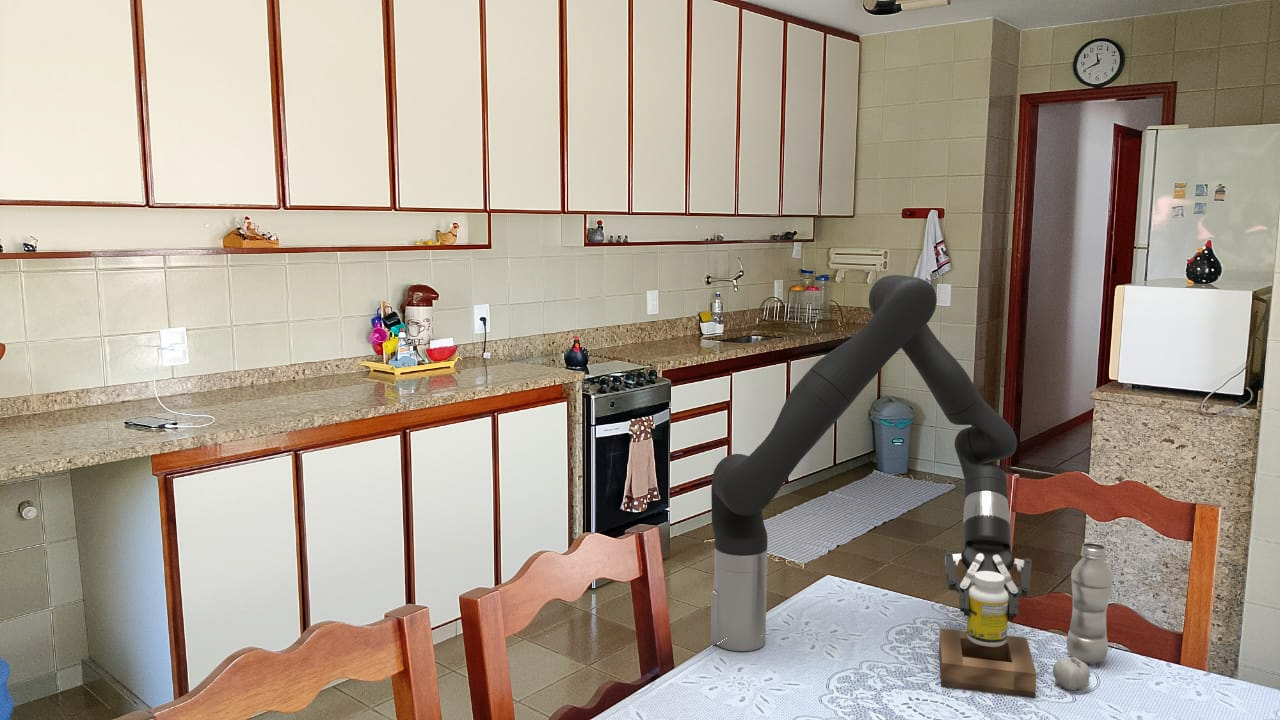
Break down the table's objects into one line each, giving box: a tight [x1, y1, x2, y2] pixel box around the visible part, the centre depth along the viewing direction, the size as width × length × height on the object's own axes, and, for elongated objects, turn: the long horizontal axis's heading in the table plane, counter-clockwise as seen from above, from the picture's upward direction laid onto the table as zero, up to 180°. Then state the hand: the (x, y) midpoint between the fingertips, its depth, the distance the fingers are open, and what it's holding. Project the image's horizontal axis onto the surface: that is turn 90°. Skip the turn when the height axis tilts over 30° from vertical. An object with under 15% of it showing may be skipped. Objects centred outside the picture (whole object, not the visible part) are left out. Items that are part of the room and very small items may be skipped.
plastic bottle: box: [1065, 542, 1113, 665], centre depth 161 cm, size 6×7×20 cm
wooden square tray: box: [938, 627, 1037, 699], centre depth 157 cm, size 14×14×4 cm
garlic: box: [1052, 656, 1091, 691], centre depth 153 cm, size 6×5×5 cm
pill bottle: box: [966, 571, 1009, 647], centre depth 156 cm, size 6×6×11 cm
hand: (988, 615), depth 155 cm, fingers closed on pill bottle, 6 cm apart
